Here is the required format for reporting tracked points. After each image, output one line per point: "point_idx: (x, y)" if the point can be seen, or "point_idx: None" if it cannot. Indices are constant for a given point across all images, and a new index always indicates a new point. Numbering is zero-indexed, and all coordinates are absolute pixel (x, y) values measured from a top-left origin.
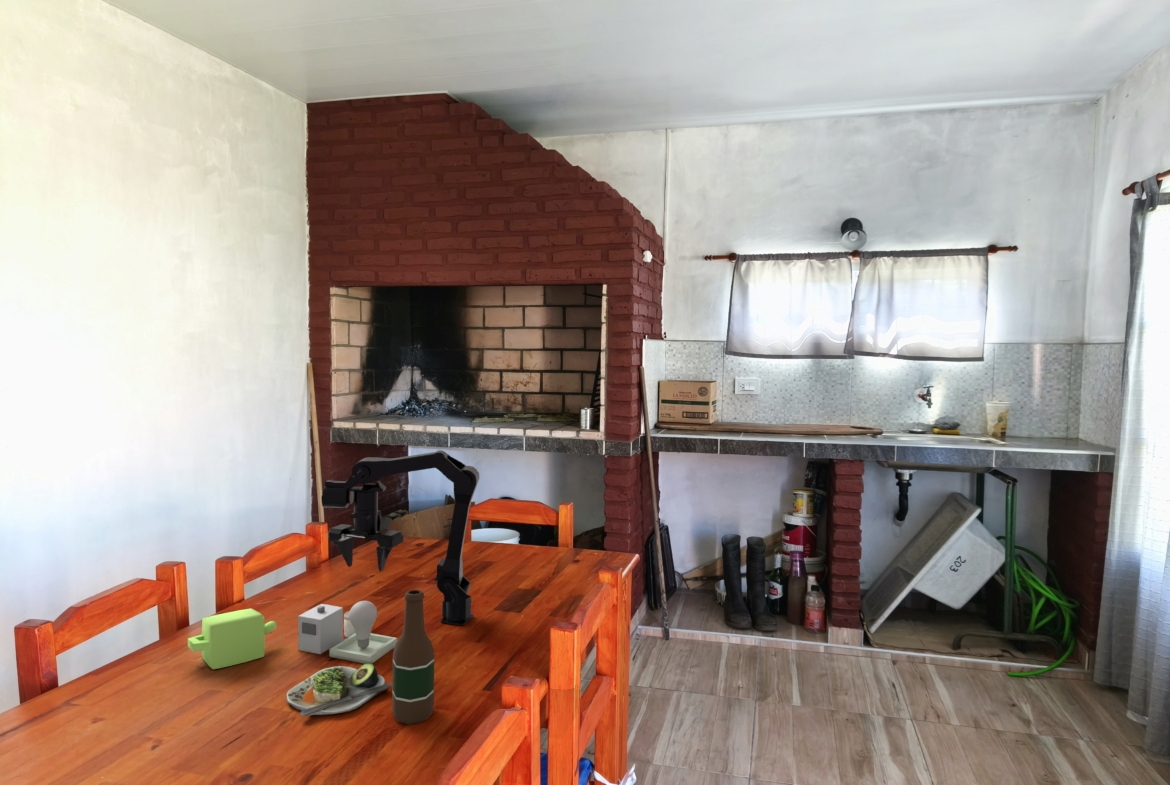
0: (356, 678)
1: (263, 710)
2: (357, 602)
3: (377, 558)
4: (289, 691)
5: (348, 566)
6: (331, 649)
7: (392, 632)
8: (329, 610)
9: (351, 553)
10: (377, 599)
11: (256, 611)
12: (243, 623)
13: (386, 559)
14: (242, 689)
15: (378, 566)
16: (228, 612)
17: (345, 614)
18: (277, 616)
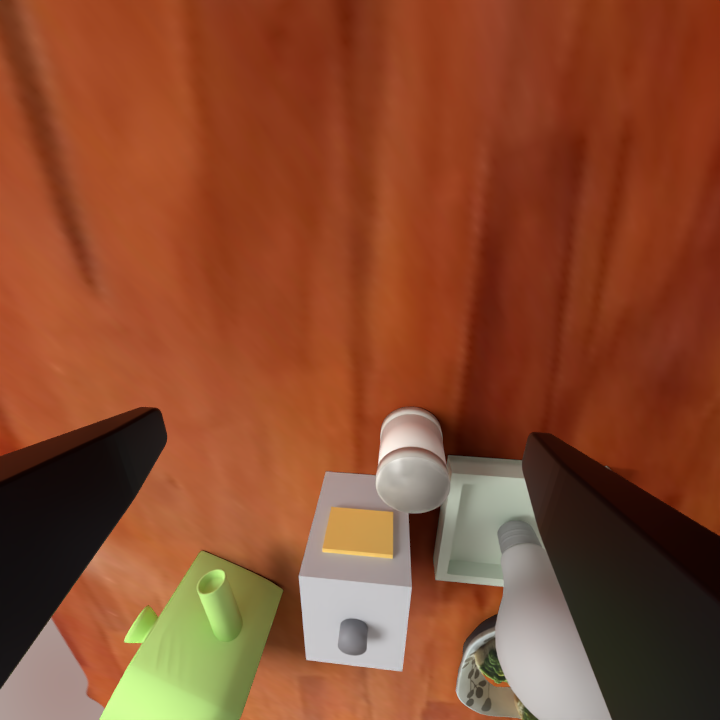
0: None
1: (440, 707)
2: (545, 712)
3: (609, 705)
4: (461, 698)
5: (156, 445)
6: (442, 580)
7: (548, 382)
8: (378, 616)
9: (22, 504)
10: (269, 21)
11: (176, 688)
12: None
13: (688, 533)
14: (352, 671)
15: (546, 537)
16: (113, 699)
17: (387, 497)
18: (73, 386)
